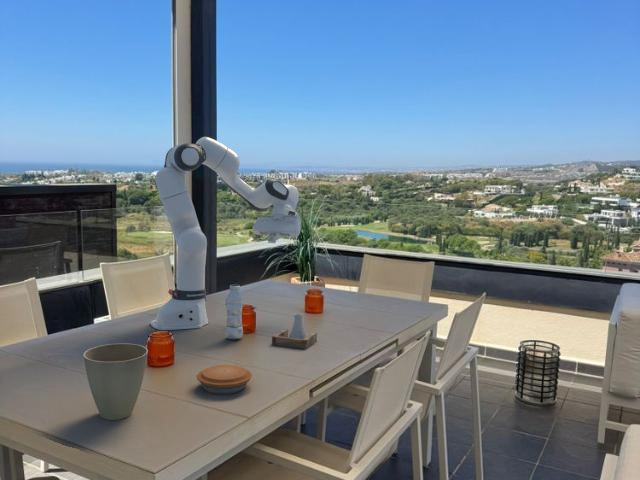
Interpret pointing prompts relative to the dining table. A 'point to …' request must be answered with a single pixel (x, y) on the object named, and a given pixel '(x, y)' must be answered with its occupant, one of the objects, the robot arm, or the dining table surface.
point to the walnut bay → (293, 340)
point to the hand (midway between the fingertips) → (271, 242)
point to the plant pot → (115, 377)
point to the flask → (297, 328)
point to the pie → (224, 379)
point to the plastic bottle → (234, 313)
